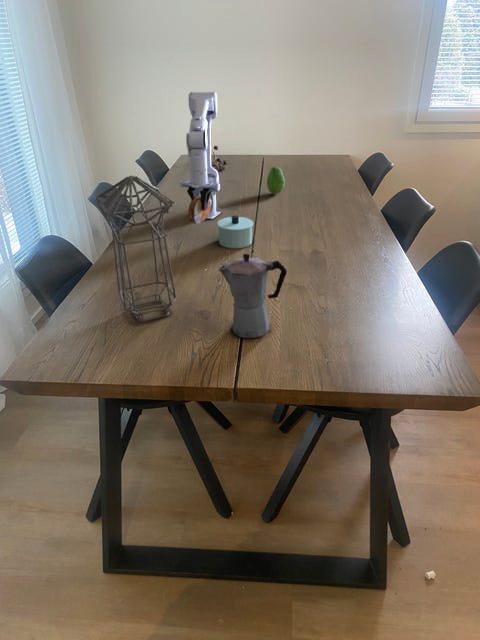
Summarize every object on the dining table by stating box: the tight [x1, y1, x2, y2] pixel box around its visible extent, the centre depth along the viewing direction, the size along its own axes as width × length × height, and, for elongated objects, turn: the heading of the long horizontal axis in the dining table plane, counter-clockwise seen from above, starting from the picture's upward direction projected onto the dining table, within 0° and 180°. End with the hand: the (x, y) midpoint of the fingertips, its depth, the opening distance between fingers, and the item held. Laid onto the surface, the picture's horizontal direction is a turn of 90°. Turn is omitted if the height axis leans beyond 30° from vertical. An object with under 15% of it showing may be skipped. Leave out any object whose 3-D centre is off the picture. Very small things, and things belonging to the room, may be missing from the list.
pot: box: [218, 226, 253, 249], centre depth 156 cm, size 11×11×6 cm
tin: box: [187, 194, 213, 225], centre depth 159 cm, size 15×3×8 cm, turn 158°
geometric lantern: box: [95, 175, 177, 323], centre depth 110 cm, size 16×16×35 cm
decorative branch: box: [211, 145, 228, 173], centre depth 245 cm, size 11×9×30 cm
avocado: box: [266, 165, 286, 195], centre depth 200 cm, size 8×8×12 cm
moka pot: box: [218, 253, 287, 339], centre depth 106 cm, size 10×15×20 cm, turn 95°
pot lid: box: [217, 215, 254, 231], centre depth 154 cm, size 12×12×3 cm
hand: (200, 209), depth 159 cm, fingers closed on tin, 2 cm apart
